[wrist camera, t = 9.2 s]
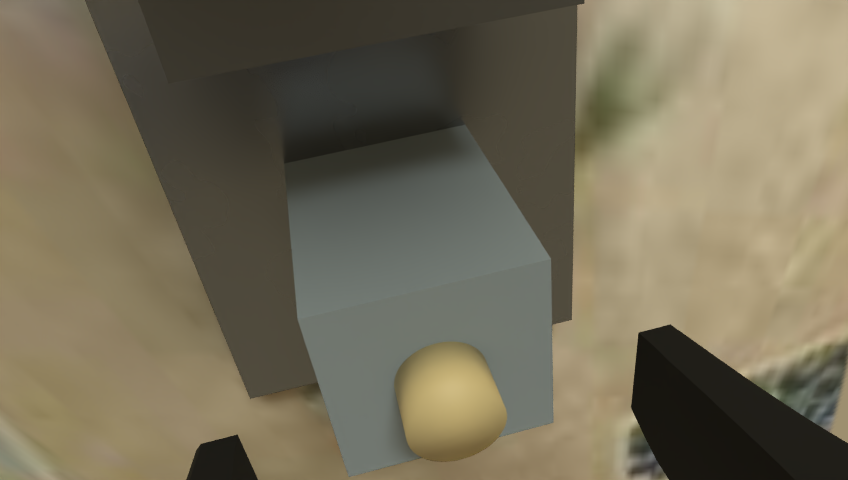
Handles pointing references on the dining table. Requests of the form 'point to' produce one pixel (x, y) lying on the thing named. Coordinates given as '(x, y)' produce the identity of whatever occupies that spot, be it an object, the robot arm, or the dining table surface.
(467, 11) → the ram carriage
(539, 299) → the block
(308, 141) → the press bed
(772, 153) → the dining table surface
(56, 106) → the dining table surface
